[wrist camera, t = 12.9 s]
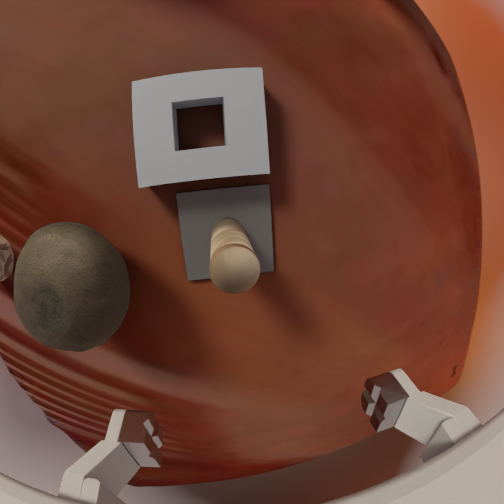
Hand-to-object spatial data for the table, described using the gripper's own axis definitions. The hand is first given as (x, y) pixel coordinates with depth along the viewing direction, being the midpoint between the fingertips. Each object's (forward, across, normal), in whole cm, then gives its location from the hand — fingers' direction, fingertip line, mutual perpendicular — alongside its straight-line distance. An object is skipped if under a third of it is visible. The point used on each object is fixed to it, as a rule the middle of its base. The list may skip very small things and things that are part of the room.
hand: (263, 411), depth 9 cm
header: (+27, +2, -13) cm, 30 cm away
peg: (+26, 0, 0) cm, 26 cm away
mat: (+27, 0, 0) cm, 27 cm away
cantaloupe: (+27, +18, +2) cm, 33 cm away
